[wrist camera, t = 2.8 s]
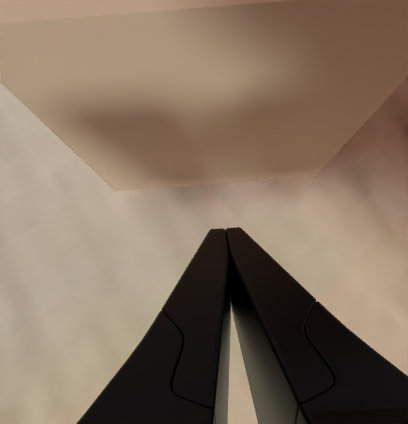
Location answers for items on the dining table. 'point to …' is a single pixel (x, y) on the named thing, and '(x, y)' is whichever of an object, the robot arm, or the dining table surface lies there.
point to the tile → (203, 82)
